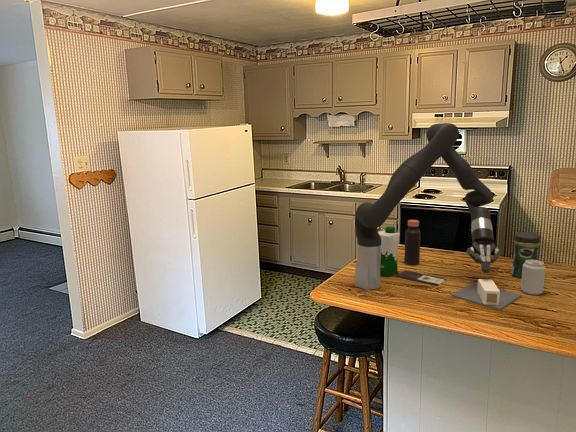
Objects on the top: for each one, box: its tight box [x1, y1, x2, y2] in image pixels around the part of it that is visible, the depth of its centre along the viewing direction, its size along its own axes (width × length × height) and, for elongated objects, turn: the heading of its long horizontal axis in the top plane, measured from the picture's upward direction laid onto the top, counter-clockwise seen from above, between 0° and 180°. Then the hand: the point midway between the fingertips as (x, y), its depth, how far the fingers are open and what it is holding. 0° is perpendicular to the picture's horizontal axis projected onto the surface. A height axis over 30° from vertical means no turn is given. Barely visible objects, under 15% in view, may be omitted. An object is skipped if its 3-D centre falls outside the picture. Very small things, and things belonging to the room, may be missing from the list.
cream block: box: [477, 278, 500, 305], centre depth 158 cm, size 5×5×12 cm
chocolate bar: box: [395, 270, 447, 287], centre depth 182 cm, size 9×1×18 cm
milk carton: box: [378, 226, 401, 278], centre depth 187 cm, size 9×9×20 cm
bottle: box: [403, 219, 422, 266], centre depth 200 cm, size 7×7×20 cm
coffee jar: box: [511, 231, 541, 279], centre depth 181 cm, size 10×8×19 cm
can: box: [520, 259, 546, 296], centre depth 164 cm, size 8×8×12 cm
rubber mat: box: [450, 282, 522, 311], centre depth 162 cm, size 18×18×1 cm
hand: (486, 272), depth 161 cm, fingers closed
